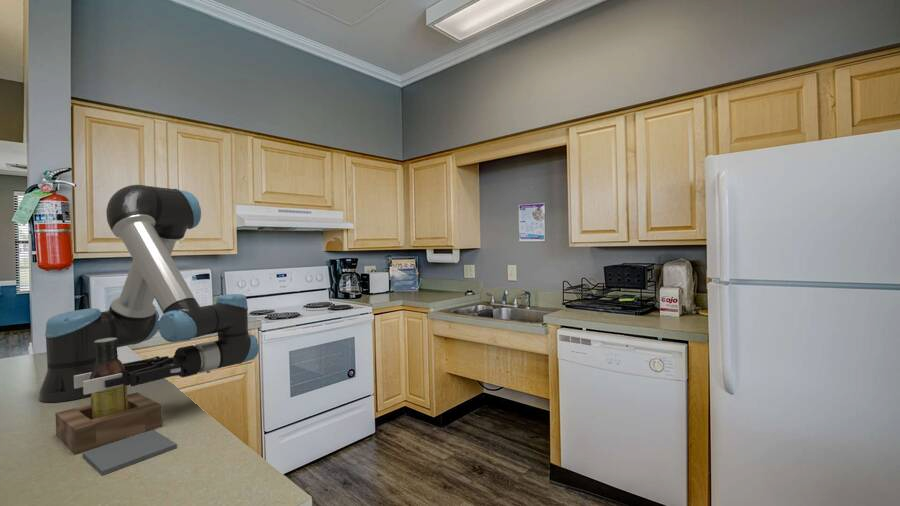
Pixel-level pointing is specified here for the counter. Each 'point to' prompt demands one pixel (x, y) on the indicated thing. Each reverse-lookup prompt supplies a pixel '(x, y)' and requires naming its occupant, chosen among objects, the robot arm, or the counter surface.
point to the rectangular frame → (107, 424)
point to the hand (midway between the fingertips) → (79, 384)
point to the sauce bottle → (107, 366)
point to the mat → (128, 451)
